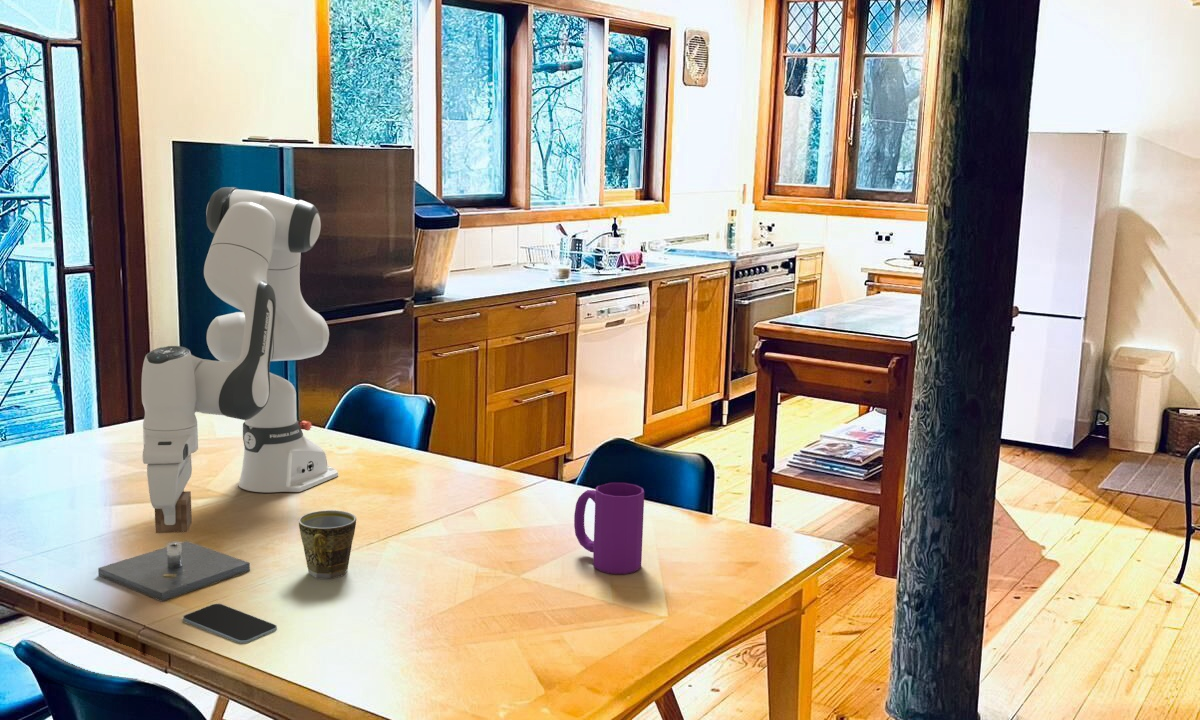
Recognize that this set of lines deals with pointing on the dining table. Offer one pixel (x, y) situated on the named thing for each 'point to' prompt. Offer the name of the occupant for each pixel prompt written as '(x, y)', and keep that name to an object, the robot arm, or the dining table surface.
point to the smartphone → (229, 623)
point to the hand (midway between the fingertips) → (173, 517)
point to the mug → (613, 527)
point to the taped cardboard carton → (181, 514)
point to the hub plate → (173, 570)
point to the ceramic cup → (327, 542)
